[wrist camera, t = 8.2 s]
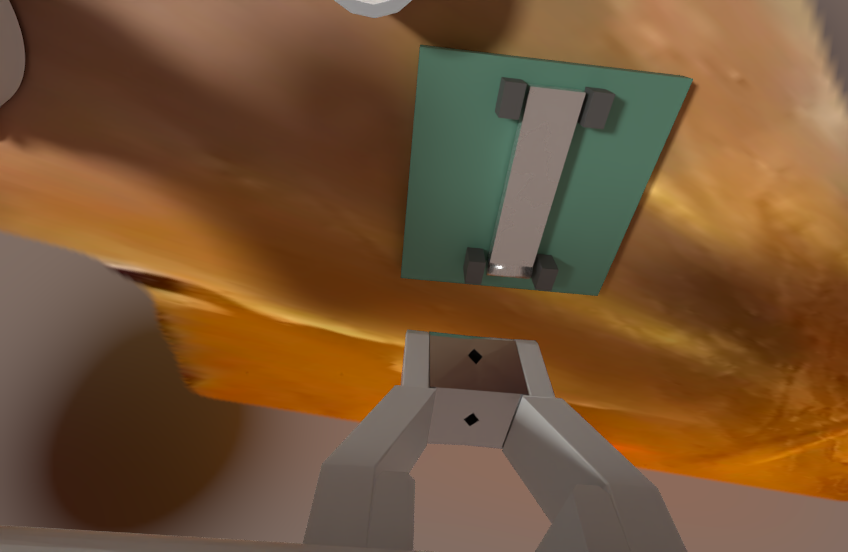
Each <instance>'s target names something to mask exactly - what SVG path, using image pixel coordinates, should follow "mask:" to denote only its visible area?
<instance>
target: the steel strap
mask: <svg viewBox="0 0 848 552" xmlns="http://www.w3.org/2000/svg"><path fill="white" fill-rule="evenodd" d="M585 94H586V93H585V92H584V91H582V90H578V89H570V88H561V87H552V86H544V85H535V84H527V86H526V91H525V95H524V100H523V104H522V108H521V113H520V117H519V122H518V126H517V131H516V135H515V139H514V144H513V148H512V153H511V157H510V161H509V166H508V170H507V175H506V179H505V184H504V188H503V192H502V197H501V201H500V206H499V210H498V215H497V219H496V223H495V228H494V232H493V237H492V241H491V246H490V250H489V254H488V257H487V260H486V267H485V272H486V275H490V276H501V277H512V278H522V279H530V277H531V275H532V270H533V264H534V261H535V258H536V255H537V251H538V248H539V245H540V241H541V238H542V235H543V232H544V228H545V225H546V222H547V219H548V215H549V212H550V209H551V205H552V202H553V199H554V196H555V192H556V189H557V186H558V183H559V179H560V176H561V173H562V169H563V166H564V163H565V160H566V156H567V153H568V150H569V147H570V143H571V140H572V137H573V134H574V130H575V127H576V124H577V120H578V117H579V114H580V111H581V107H582V104H583V101H584V98H585Z"/></svg>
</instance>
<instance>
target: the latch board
mask: <svg viewBox="0 0 848 552" xmlns="http://www.w3.org/2000/svg"><path fill="white" fill-rule="evenodd" d="M692 81H693V79H692V78H688V77H685V76H680V75H671V74H663V73H655V72H646V71H638V70H629V69H621V68H612V67H604V66H595V65H587V64H579V63H570V62H562V61H553V60H545V59H536V58H528V57H519V56H511V55H503V54H494V53H486V52H477V51H469V50H460V49H452V48H444V47H435V46H427V45H420V52H419V64H418V76H417V88H416V100H415V112H414V124H413V136H412V148H411V160H410V172H409V184H408V196H407V208H406V220H405V232H404V244H403V256H402V268H401V278H408V279H419V280H430V281H441V282H451V283H462V284H473V285H484V286H495V287H506V288H517V289H528V290H539V291H550V292H561V293H572V294H583V295H594V296H598V294H599V292H600V289H601V287H602V285H603V283H604V280H605V278H606V276H607V273H608V271H609V269H610V267H611V264H612V262H613V260H614V258H615V255H616V253H617V251H618V249H619V246H620V244H621V242H622V239H623V237H624V235H625V233H626V230H627V228H628V226H629V224H630V221H631V219H632V217H633V214H634V212H635V210H636V208H637V205H638V203H639V201H640V199H641V196H642V194H643V192H644V190H645V187H646V185H647V183H648V180H649V178H650V176H651V174H652V171H653V169H654V167H655V165H656V162H657V160H658V158H659V156H660V153H661V151H662V149H663V146H664V144H665V142H666V140H667V137H668V135H669V133H670V131H671V128H672V126H673V124H674V122H675V119H676V117H677V115H678V112H679V110H680V108H681V106H682V103H683V101H684V99H685V97H686V94H687V92H688V90H689V88H690V85H691V83H692ZM527 84H535V85H544V86H552V87H561V88H570V89H578V90H582V91H584V92H585V93H586V94H585V98H584V101H583V104H582V107H581V111H580V114H579V117H578V120H577V124H576V127H575V130H574V134H573V137H572V140H571V143H570V147H569V150H568V153H567V156H566V160H565V163H564V166H563V169H562V173H561V176H560V179H559V183H558V186H557V189H556V192H555V196H554V199H553V202H552V205H551V209H550V212H549V215H548V219H547V222H546V225H545V228H544V232H543V235H542V238H541V241H540V245H539V248H538V251H537V255H536V258H535V261H534V264H533V270H532V275H531V277H530V279H522V278H512V277H501V276H490V275H486V272H485V267H486V260H487V257H488V254H489V250H490V246H491V241H492V237H493V232H494V228H495V223H496V219H497V215H498V210H499V206H500V201H501V197H502V192H503V188H504V184H505V179H506V175H507V170H508V166H509V161H510V157H511V153H512V148H513V144H514V139H515V135H516V131H517V126H518V122H519V117H520V113H521V108H522V104H523V100H524V95H525V91H526V86H527Z"/></svg>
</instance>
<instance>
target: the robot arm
mask: <svg viewBox="0 0 848 552" xmlns="http://www.w3.org/2000/svg"><path fill="white" fill-rule="evenodd" d="M24 69H25V49H24V43H23V37H22V33H21V30H20V26H19V23H18V20H17V18H16V15H15V12H14V10H13V8H12V6H11V3H10V1H9V0H0V107H1V105H3V104H4V103H5V102H6V101H8V100H9V99H10V98H11V97H12V96H13V95H14V94H15V92H16V91H17V90H18V88H19V86H20V84H21V81H22V79H23V75H24ZM427 443H430V444H452V445H468V446H478V447H489V448H498V449H503V450H502V451H503V453H504V454H505V456H506V457H507V459H508V460H509V462H510V463H511V465H512V466H513V467H514V469H515V470H516V472H517V473H518V475H519V476H520V478H521V479H522V481H523V482H524V484H525V485H526V486H527V488H528V489H529V491H530V492H531V494H532V495H533V497H534V498H535V499H536V501H537V503H538V504H539V505H540V507H541V508H542V510H543V511H544V513H545V514H546V516H547V517H548V519H549V520H550V522H551V523H552V525H551V526H550V528H549V530H548V531H547V533H546V534H545V536H544V538H543V539H542V541H541V543H540V544H539V546H538V548H537V549H536V551H535V552H687V550H686V548H685V546H684V544H683V541H682V539H681V537H680V535H679V533H678V531H677V529H676V526H675V524H674V522H673V520H672V518H671V516H670V513H669V511H668V509H667V507H666V505H665V503H664V501H663V498H662V496H661V494H660V492H659V490H658V488H657V487H656V486H655V485H654V484H653V483H652V482H650V481H649V480H648V479H647V478H646V477H645V476H644V475H643V474H642V473H641V472H640V471H639V470H638V469H637V468H636V467H635V466H633V465H632V464H631V463H630V462H629V461H628V460H627V459H626V458H625V457H624V456H623V455H622V454H621V453H620V452H619V451H617V450H616V449H615V448H614V447H613V446H612V445H611V444H610V443H609V442H608V441H607V440H606V439H605V438H604V437H603V436H602V435H600V434H599V433H598V432H597V431H596V430H595V429H594V428H593V427H592V426H591V425H590V424H589V423H588V422H587V421H586V420H585V419H583V418H582V417H581V416H580V415H579V414H578V413H577V412H576V411H575V410H574V409H573V408H572V407H571V406H570V405H569V404H567V403H566V402H565V401H564V400H563V399H561V398H555V395H554V392H553V388H552V385H551V382H550V379H549V376H548V373H547V370H546V367H545V364H544V361H543V357H542V354H541V351H540V348H539V345H538V343H537V342H536V341H533V340H519V339H513V340H512V339H502V338H489V337H477V336H465V335H456V334H447V333H438V332H429V333H428V332H424V331H415V330H407V332H406V339H405V349H404V358H403V368H402V377H401V386H399V385H395V386H394V387H393V388H392V389H391V391H390V392H389V393H388V394H387V395H386V396H385V397H384V398H383V399H382V400H381V401H380V402H379V403H378V404H377V406H376V407H375V408H374V409H373V410H372V411H371V412H370V413H369V414H368V415H367V416H366V417H365V418H364V419H363V421H362V422H361V423H360V424H359V425H358V426H357V427H356V428H355V429H354V430H353V431H352V432H351V433H350V434H349V436H348V437H347V438H346V439H345V440H344V441H343V442H342V443H341V444H340V445H339V446H338V447H337V448H336V450H335V451H334V452H333V453H332V454H331V455H330V456H329V457H328V458H327V459H326V460H325V461H324V463H322V466H321V471H320V474H319V478H318V483H317V487H316V491H315V495H314V499H313V503H312V508H311V511H310V516H309V520H308V524H307V528H306V532H305V536H304V540H303V544H300V543H284V542H267V541H250V540H234V539H218V538H201V537H184V536H168V535H152V534H151V535H150V534H136V533H134V534H133V533H119V532H103V531H86V530H69V529H52V528H37V527H20V526H3V525H0V552H430V551H416V550H413V539H414V538H413V537H414V498H415V496H414V495H415V480H414V479H413V478H412V477H411V476H410V475H409V472H410V471H411V469H412V468H413V466H414V465H415V463H416V462H417V460H418V458H419V457H420V455H421V454H422V452H423V451H424V449H425V447H426V446H427Z"/></svg>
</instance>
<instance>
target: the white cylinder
mask: <svg viewBox="0 0 848 552" xmlns="http://www.w3.org/2000/svg"><path fill="white" fill-rule="evenodd" d="M334 1H336V2H337V3H338V4H340V5H341V6H343V7H344V8H345V9H347V10H348V11H349V12H351V13H354V14H358V15H363V16H367V17H372V18H378V17H382V16H386V15H390V14H394V13H398V12H399V11H400V10H401V9H402V8H404V7H405V6H406V5H407V4H408V3H409V2H411V1H412V0H334Z"/></svg>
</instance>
